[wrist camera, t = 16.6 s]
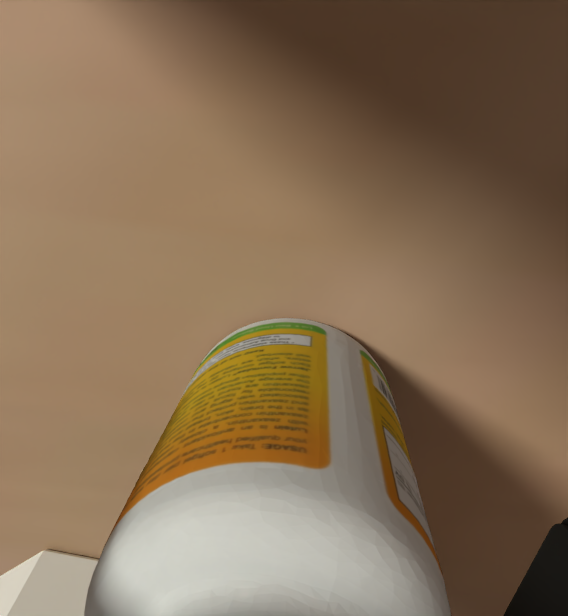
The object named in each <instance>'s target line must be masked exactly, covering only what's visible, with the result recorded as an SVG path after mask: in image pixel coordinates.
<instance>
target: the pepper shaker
mask: <svg viewBox="0 0 568 616" xmlns="http://www.w3.org/2000/svg"><path fill="white" fill-rule="evenodd" d="M98 561H99V559H95V558H90V557H85V556H80V555H74V554H69V553H64V552H59V551H53V550H48V549H47V550H43V551H42V552H40V553H38V554H37V555H35V556H33V557H32V558H30V559H28V560H27V561H25V562H23V563H22V564H20V565H18V566H17V567H15V568H13V569H12V570H10V571H8V572H6V573H5V574H3V575H1V576H0V616H84V611H85V604H86V598H87V592H88V588H89V585H90V581H91V578H92V575H93V572H94V570H95V567H96V565H97V563H98Z"/></svg>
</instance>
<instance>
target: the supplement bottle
mask: <svg viewBox="0 0 568 616" xmlns="http://www.w3.org/2000/svg"><path fill="white" fill-rule="evenodd" d="M84 616H451V612H450V607H449V602H448V598H447V593H446V588H445V583H444V578H443V575H442V571H441V568H440V564H439V561H438V558H437V554H436V550H435V547H434V543H433V540H432V536H431V532H430V529H429V526H428V522H427V518H426V515H425V511H424V507H423V503H422V500H421V496H420V492H419V489H418V484H417V480H416V477H415V474H414V471H413V468H412V464H411V460H410V457H409V453H408V450H407V446H406V443H405V439H404V435H403V431H402V428H401V425H400V421H399V418H398V414H397V410H396V406H395V402H394V399H393V396H392V393H391V391H390V388H389V385H388V383H387V380H386V378H385V376H384V374H383V372H382V370H381V368H380V367H379V365H378V364H377V362H376V361H375V360H374V359H373V357H372V356H371V355H370V354H369V352H368V351H367V350H366V349H365V348H364V347H363V346H362V345H360V344H359V343H358V342H357V341H356V340H354V339H353V338H351V337H350V336H348V335H347V334H345V333H343V332H342V331H340V330H338V329H336V328H333V327H331V326H328V325H326V324H323V323H319V322H315V321H311V320H306V319H295V318H279V319H270V320H264V321H260V322H256V323H253V324H250V325H247V326H245V327H242V328H240V329H238V330H236V331H234V332H233V333H231V334H230V335H228V336H227V337H225V338H224V339H223V340H222V341H220V342H219V343H218V344H217V345H216V346H215V347H214V348H213V349H212V350H211V351H210V352H209V353H208V354H207V355H206V357H205V358H204V359H203V361H202V362H201V364H200V365H199V367H198V368H197V370H196V371H195V373H194V375H193V377H192V378H191V380H190V382H189V384H188V386H187V388H186V389H185V391H184V394H183V396H182V398H181V400H180V402H179V404H178V406H177V408H176V409H175V411H174V413H173V415H172V417H171V419H170V421H169V423H168V425H167V427H166V428H165V430H164V432H163V434H162V436H161V437H160V440H159V442H158V443H157V445H156V447H155V449H154V451H153V453H152V455H151V456H150V458H149V460H148V463H147V464H146V466H145V467H144V469H143V471H142V473H141V474H140V477H139V479H138V481H137V482H136V485H135V487H134V489H133V491H132V493H131V495H130V497H129V498H128V500H127V503H126V505H125V507H124V508H123V510H122V512H121V514H120V516H119V518H118V520H117V522H116V524H115V526H114V528H113V530H112V532H111V534H110V536H109V538H108V540H107V542H106V544H105V546H104V548H103V551H102V554H101V556H100V558H99V561H98V563H97V565H96V567H95V570H94V572H93V575H92V578H91V581H90V585H89V588H88V592H87V598H86V604H85V611H84Z"/></svg>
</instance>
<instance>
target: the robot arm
mask: <svg viewBox="0 0 568 616" xmlns="http://www.w3.org/2000/svg"><path fill="white" fill-rule="evenodd" d="M503 616H568V518H567V519H565V520H563V522H562V523H561V524H555V525H554V526H553V527H552V528H551V529H550V531H549V533H548V535H547V536H546V538H545V540H544V542H543V544H542V546H541V547H540V549H539V551H538V553H537V555H536V557H535V558H534V560H533V562H532V564H531V566H530V568H529V570H528V571H527V573H526V575H525V577H524V579H523V581H522V582H521V584H520V586H519V588H518V590H517V592H516V593H515V595H514V597H513V599H512V601H511V603H510V604H509V606H508V608H507V610H506V612H505V614H504V615H503Z"/></svg>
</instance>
